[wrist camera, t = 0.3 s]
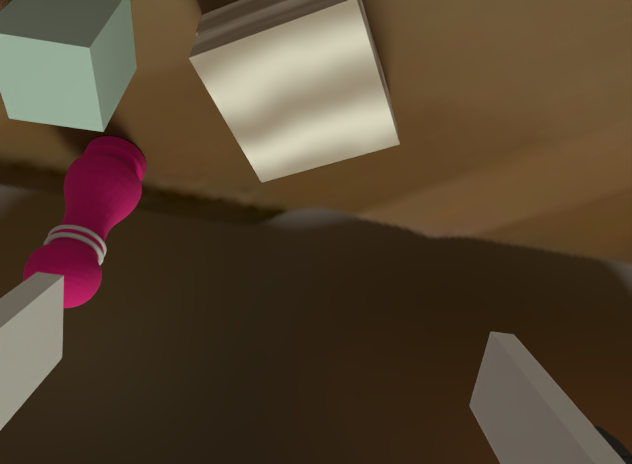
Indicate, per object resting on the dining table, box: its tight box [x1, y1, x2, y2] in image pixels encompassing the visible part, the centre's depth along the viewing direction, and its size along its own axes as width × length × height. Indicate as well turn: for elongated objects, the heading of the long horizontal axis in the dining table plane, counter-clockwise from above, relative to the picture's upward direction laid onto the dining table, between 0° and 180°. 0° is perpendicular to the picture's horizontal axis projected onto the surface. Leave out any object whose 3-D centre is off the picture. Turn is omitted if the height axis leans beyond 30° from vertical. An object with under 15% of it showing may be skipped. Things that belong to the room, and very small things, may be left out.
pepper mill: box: [24, 136, 146, 308], centre depth 47 cm, size 7×7×20 cm
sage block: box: [0, 0, 137, 132], centre depth 39 cm, size 7×7×10 cm
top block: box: [189, 0, 400, 182], centre depth 41 cm, size 13×13×4 cm
